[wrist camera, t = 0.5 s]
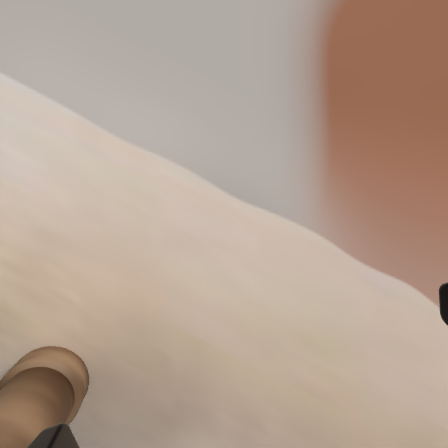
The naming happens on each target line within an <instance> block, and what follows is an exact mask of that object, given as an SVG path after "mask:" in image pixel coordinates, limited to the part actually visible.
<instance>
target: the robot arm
mask: <svg viewBox="0 0 448 448" xmlns="http://www.w3.org/2000/svg"><path fill="white" fill-rule="evenodd" d="M439 302H440V315H441V317H442V319H443V321H444V322H445V323H446V324H447V325H448V283H445V284H442V285H441V286H440V288H439ZM27 448H79V446H78V444H77V442H76V440H75V438H74V436H73V434H72V431H71V429H70V427H69V426H68V425H67V424H66V423H63V422H62V423H59V424H56V425H53V426H51V427H48V428H46V429H44V430H42V431H41V432H40V434H39V435H38V436H37V437H36V438H35V439H34V440H33V441H32V443H31V444H30V445H29V446H28V447H27Z"/></svg>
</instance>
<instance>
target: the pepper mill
mask: <svg viewBox="0 0 448 448" xmlns="http://www.w3.org/2000/svg"><path fill="white" fill-rule="evenodd" d="M88 385H89V375H88V370H87V368H86V366H85V364H84V362H83V361H82V359H81V358H80V357H79V356H78V355H76V354H75V353H73V352H72V351H70V350H68V349H65V348H61V347H52V346H50V347H43V348H39V349H36V350H33V351H31V352H29V353H28V354H26V355H25V356H24V357H22V358H21V359H20V360H19V362H18V363H17V364H16V365H15V366H14V367H13V368H12V369H11V370H10V371H9V372H8V373H7V374H6V375H5V376H4V377H3V378H2V380H1V381H0V448H27V447H28V446H29V445H30V444H31V443H32V441H33V440H34V439H35V438H36V437H37V436H38V435H39V434H40V432H41V431H42V430H44V429H46V428H48V427H51V426H53V425H56V424H59V423H62V422H63V423H66V424H67V425H69V424H70V422H71V421H72V420H73V419H74V417H75V416H76V414H77V412H78V410H79V408H80V406H81V403H82V401H83V399H84V397H85V394H86V392H87V389H88Z"/></svg>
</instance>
